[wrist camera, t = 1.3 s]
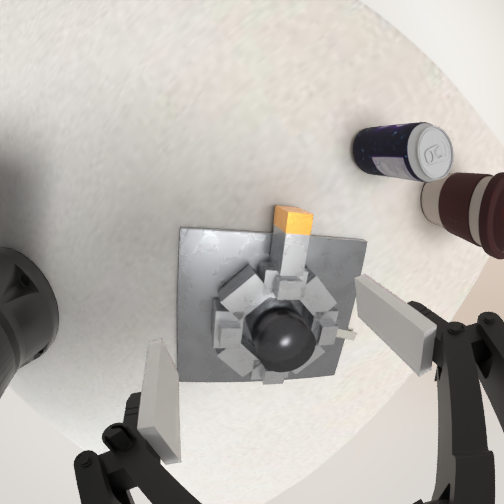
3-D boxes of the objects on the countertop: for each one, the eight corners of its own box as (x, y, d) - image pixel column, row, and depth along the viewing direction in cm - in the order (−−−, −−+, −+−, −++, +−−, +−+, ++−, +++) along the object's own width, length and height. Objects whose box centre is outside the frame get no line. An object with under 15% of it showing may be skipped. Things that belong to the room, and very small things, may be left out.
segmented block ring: (209, 365, 37) (212, 389, 32) (221, 200, 31) (226, 207, 27) (313, 361, 40) (326, 382, 35) (344, 212, 34) (364, 220, 30)
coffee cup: (432, 149, 35) (518, 156, 21) (465, 190, 38) (542, 209, 24) (401, 207, 37) (488, 235, 23) (438, 244, 40) (514, 278, 26)
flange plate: (178, 376, 38) (178, 419, 30) (182, 198, 32) (179, 210, 24) (341, 369, 43) (365, 403, 35) (378, 217, 37) (418, 232, 29)
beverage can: (393, 163, 35) (461, 170, 24) (359, 181, 35) (425, 194, 23) (377, 121, 33) (445, 114, 22) (342, 137, 33) (406, 132, 22)
